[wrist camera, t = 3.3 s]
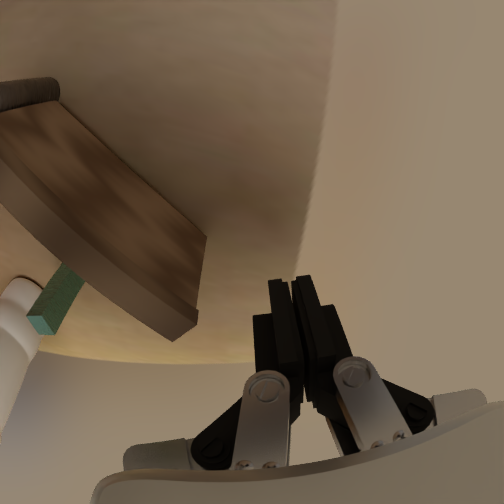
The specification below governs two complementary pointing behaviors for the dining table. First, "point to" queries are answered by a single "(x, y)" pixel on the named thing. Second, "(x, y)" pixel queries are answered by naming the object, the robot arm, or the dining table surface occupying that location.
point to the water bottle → (15, 341)
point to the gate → (100, 217)
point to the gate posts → (64, 280)
